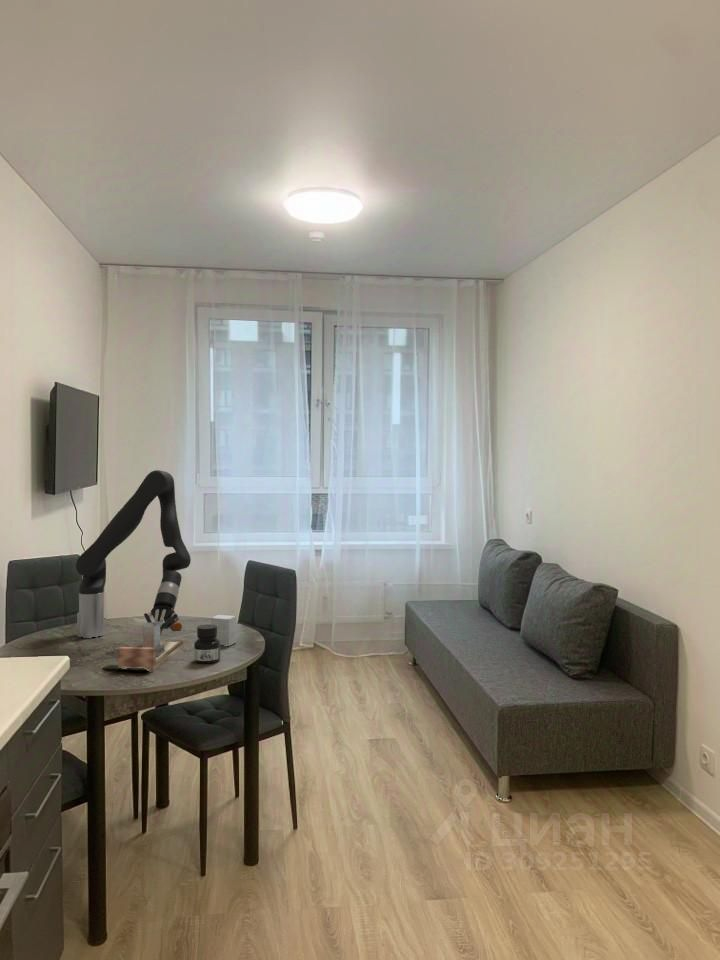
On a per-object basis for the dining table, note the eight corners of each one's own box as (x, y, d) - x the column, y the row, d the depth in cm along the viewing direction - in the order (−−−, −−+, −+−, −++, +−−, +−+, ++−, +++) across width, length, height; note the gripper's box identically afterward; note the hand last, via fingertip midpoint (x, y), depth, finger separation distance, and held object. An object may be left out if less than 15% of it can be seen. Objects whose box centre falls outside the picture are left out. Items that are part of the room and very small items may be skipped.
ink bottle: (190, 664, 245) (190, 629, 245) (196, 657, 254) (196, 623, 254) (218, 664, 245) (218, 629, 245) (223, 657, 254) (223, 623, 254)
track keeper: (138, 656, 249) (138, 626, 249) (145, 651, 255) (144, 622, 255) (158, 656, 248) (158, 626, 248) (164, 651, 254) (164, 622, 254)
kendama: (169, 622, 291) (158, 609, 308) (171, 635, 292) (161, 622, 309) (183, 618, 293) (172, 605, 311) (186, 631, 294) (174, 618, 312)
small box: (236, 643, 273) (236, 615, 273) (229, 647, 268) (229, 619, 267) (218, 641, 276) (218, 614, 275) (210, 645, 270) (210, 617, 270)
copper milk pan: (118, 670, 238) (117, 648, 237) (152, 645, 269) (152, 625, 269) (153, 671, 237) (153, 649, 236) (184, 646, 269) (184, 626, 268)
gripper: (146, 590, 265) (134, 632, 253) (182, 591, 264) (171, 632, 252) (152, 602, 270) (140, 643, 258) (186, 602, 269) (176, 643, 257)
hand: (155, 637), depth 255 cm, fingers closed
